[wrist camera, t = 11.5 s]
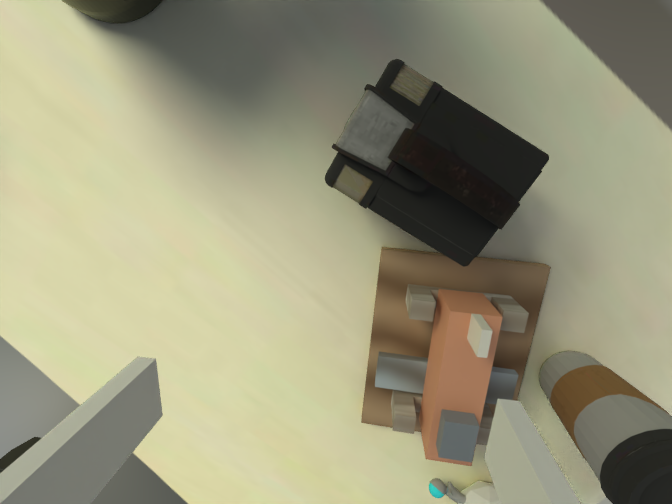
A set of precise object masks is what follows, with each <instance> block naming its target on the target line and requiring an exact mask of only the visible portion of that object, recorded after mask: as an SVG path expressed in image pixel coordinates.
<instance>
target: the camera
mask: <svg viewBox="0 0 672 504" xmlns="http://www.w3.org/2000/svg"><path fill="white" fill-rule="evenodd" d="M364 89H365V93H364V95H363V97H362V98H361V100H360V102H359V104H358V106H357V107H356V108H355V110H354V111H353V113H352V114H351V116H350V118H349V119H348V121H347V123H346V125H345V128H344V130H343V132H342V134H341V136H340V138H339V139H338V141H337V143H336V144H333V146H332V148H333V149H335V150H336V151H338V153H337V155H336V157H335V159H334V160H333V162H332V164H331V166H330V168H329V169H328V171H327V173H326V175H325V181H326V183H327V184H328V185H329V186H330V187H333V188H335V189H337V190H338V191H340V192H342V193H343V194H345V195H346V196H348V197H350V198H351V199H353V200H355V201H356V202H358V203H359V205H361V206H363V207H364V208H369V209H371V210H372V211H374V212H375V213H377V214H379V215H380V216H382V217H384V218H385V219H387V220H388V221H390V222H392V223H393V224H395V225H397V226H398V227H400V228H401V229H403V230H405V231H406V232H408V233H410V234H411V235H413V236H414V237H416V238H418V239H419V240H421V241H422V242H424V243H426V244H427V245H429V246H431V247H432V248H434V249H435V250H437V251H439V252H440V253H442V254H444V255H445V256H447V257H448V258H450V259H452V260H453V261H455V262H457V263H458V264H460V265H461V266H463V267H465V266H468V265H469V264H470V263H471V261H472V260H473V259H474V258H475V257H477V256H478V254H479V253H480V252H481V250H482V249H483V248H484V247H485V245H486V244H487V243H488V241H489V240H490V239H491V237H492V236H493V235H494V233H495V232H496V231H497V230H498V228H499V229H502V228H503V226H504V225H505V224H506V223H507V221H508V220H509V219H510V217H511V216H512V215H513V213H514V212H515V211H516V210H517V208H518V207H519V206H520V204H519V201H520V199H521V198H522V197H523V195H524V194H525V193H526V192H527V190H528V189H529V188H530V186H531V185H532V184H533V182H534V181H535V180H536V178H537V177H538V176H539V175H540V173H541V172H542V171H541V170H542V168H543V167H544V166H545V164H546V163H547V162H548V160H549V156H548V154H546V153H545V152H543V151H542V150H540V149H538V148H537V147H535V146H534V145H532V144H530V143H529V142H527V141H526V140H524V139H523V138H521V137H519V136H518V135H516V134H515V133H513V132H511V131H510V130H508V129H507V128H505V127H504V126H502V125H500V124H499V123H497V122H496V121H494V120H492V119H491V118H489V117H488V116H486V115H485V114H483V113H481V112H480V111H478V110H477V109H475V108H474V107H472V106H470V105H469V104H467V103H466V102H464V101H462V100H461V99H459V98H458V97H456V96H455V95H453V94H451V93H450V92H448V91H447V90H445V89H443V88H442V86H441V85H439V84H438V83H436V82H432V81H430V80H429V79H427V78H426V77H424V76H422V75H421V74H419V73H418V72H416V71H415V70H413V69H411V68H410V67H408V66H407V65H405V64H404V62H403V61H401V60H398V59H395V60H392V61H391V62H390V63H389V64H388V65H387V67H386V69H385V71H384V72H383V74H382V76H381V78H380V79H379V81H378V83H377V85H376V86H375V87H374V86H372V85H369V84H367V85H366V87H365V88H364Z"/></svg>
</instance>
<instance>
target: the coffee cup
mask: <svg viewBox="0 0 672 504" xmlns="http://www.w3.org/2000/svg"><path fill="white" fill-rule="evenodd" d="M539 381H540V386H541V388H542V389H543V391H544V393H545V394H546V396H547V398H548V399H549V401H550V402H551V405H552V407H553V409H554V410H555V412H556V414H557V415H558V417H559V418H560V420H561V422H562V423H563V425H564V427H565V428H566V430H567V431H568V433H569V435H570V436H571V438H572V440H573V441H574V443H575V444H576V446H577V448H578V449H579V451H580V452H581V454H582V456H583V457H584V458H585V459H586V461H587V462H588V463H589V465H590V467H591V468H592V470H593V471H594V473H595V475H596V476H597V478H598V479H599V481H600V483H601V488H602V490H603V492H604V493H605V495H606V497H607V498H608V499H609V500H610V501H611V502H612V503H613V504H672V416H670V415H669V413H668V412H667V411H666V410H664V409H663V408H662V407H660V406H659V405H658V404H656V403H655V402H653V401H652V400H651V399H649V398H648V397H647V396H645V395H644V394H643V393H641V392H640V391H639V390H637V389H636V388H635V387H633V386H632V385H630V384H629V383H628V382H626V381H625V380H624V379H622V378H621V377H620V376H618V375H617V374H616V373H614V372H613V371H612V370H610V369H608V368H607V367H605V366H603V365H602V364H601V363H599V362H598V361H597V360H595V359H594V358H592V357H591V356H589V355H587V354H584V353H581V352H575V351H565V352H559V353H557V354H555V355H553V356H551V357H550V358H548V359H547V360H546V361H545V362H544V364H543V365H542V367H541V370H540V378H539Z"/></svg>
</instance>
